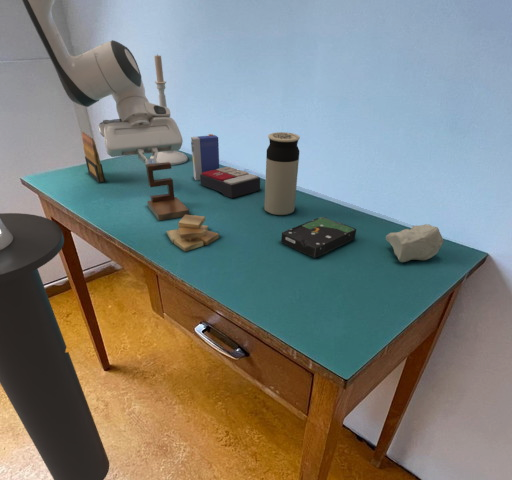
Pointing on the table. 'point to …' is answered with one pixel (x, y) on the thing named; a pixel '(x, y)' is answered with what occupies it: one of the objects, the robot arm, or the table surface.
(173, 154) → the candlestick
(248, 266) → the table surface
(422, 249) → the decorative stone
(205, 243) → the tile pile
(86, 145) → the ammunition clip
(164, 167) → the letter S
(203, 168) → the walkman
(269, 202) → the travel mug
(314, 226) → the disk drive
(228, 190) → the calculator
